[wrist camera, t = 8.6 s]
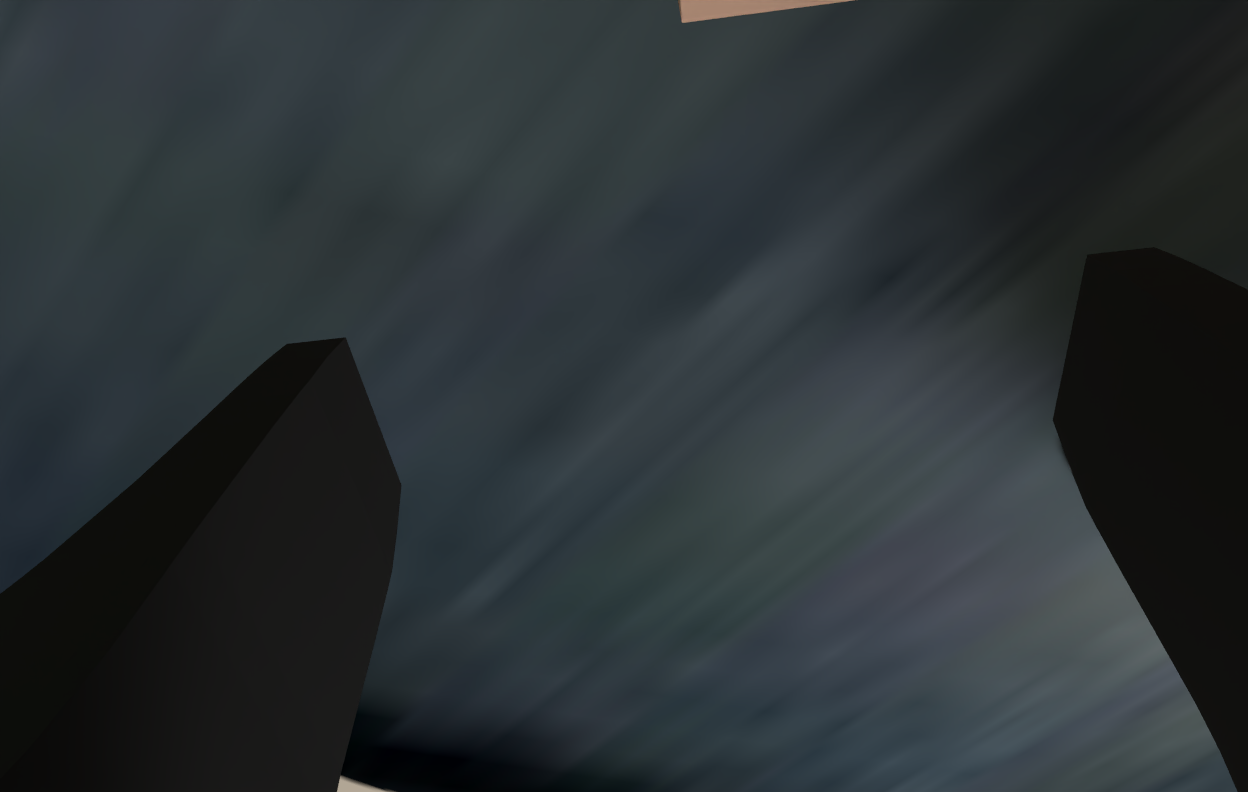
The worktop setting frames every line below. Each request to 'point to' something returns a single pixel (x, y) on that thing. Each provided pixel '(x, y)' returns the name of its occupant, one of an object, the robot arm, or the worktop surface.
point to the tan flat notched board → (738, 7)
